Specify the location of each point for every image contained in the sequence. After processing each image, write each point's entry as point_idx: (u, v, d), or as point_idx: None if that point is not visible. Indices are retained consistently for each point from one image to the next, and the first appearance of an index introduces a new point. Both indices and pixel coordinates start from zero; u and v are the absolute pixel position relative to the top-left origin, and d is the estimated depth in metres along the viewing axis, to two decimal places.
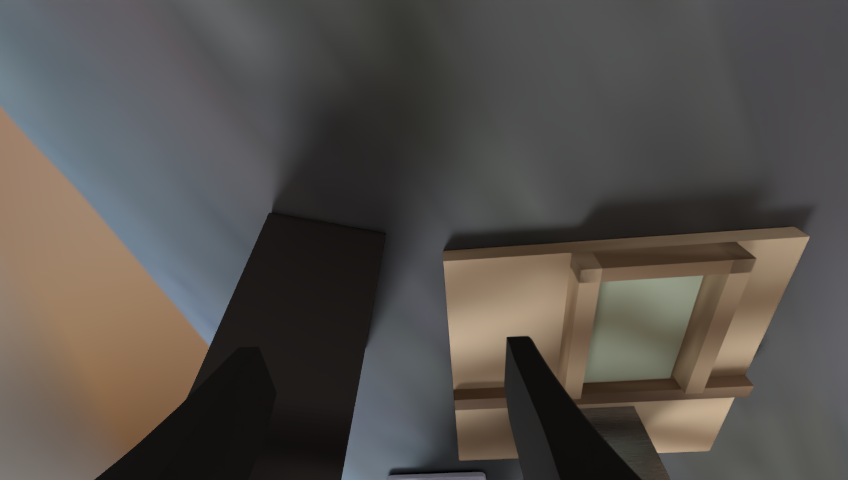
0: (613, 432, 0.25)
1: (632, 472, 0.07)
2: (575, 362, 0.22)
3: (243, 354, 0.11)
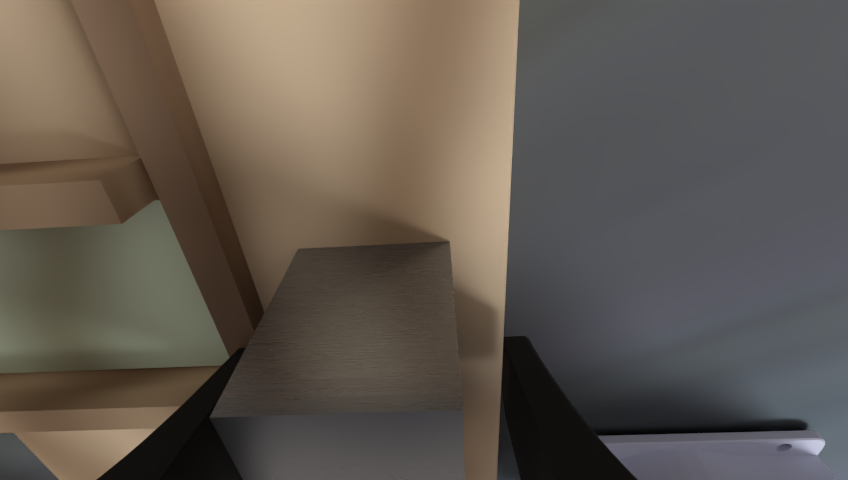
0: None
1: (627, 472, 0.07)
2: (119, 421, 0.12)
3: None
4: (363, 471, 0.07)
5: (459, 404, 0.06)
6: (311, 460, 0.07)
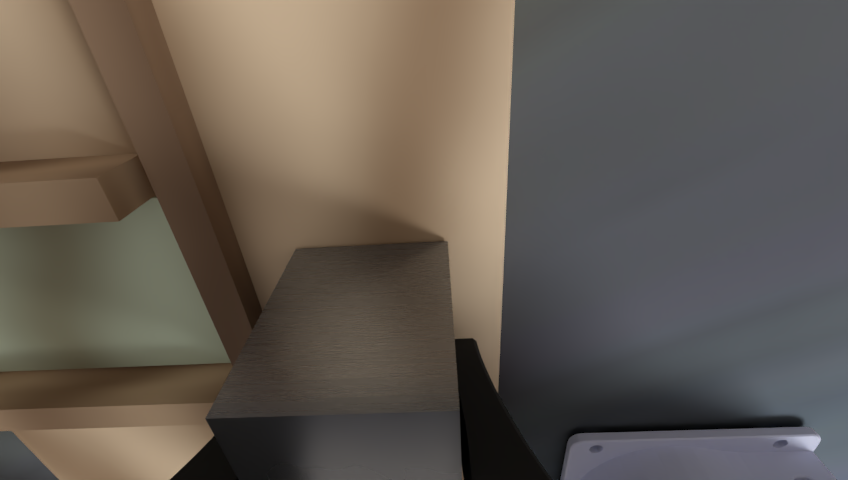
0: None
1: (544, 474, 0.07)
2: (118, 419, 0.12)
3: None
4: (360, 472, 0.07)
5: (456, 405, 0.06)
6: (308, 461, 0.07)
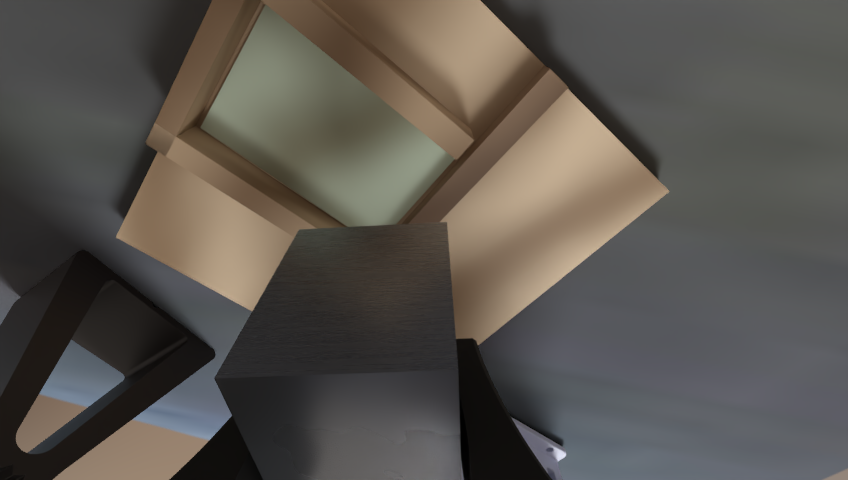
0: None
1: (544, 474, 0.07)
2: (296, 230, 0.17)
3: None
4: (363, 435, 0.07)
5: (455, 365, 0.07)
6: (312, 423, 0.07)
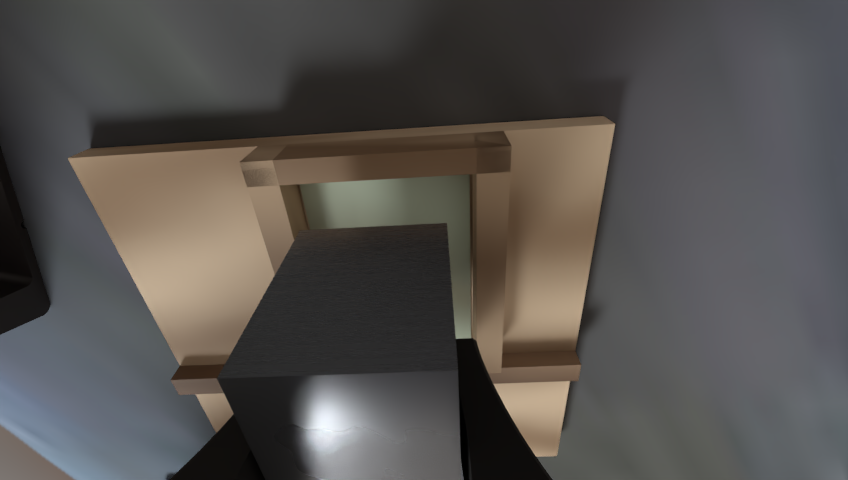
0: None
1: (544, 474, 0.07)
2: None
3: None
4: (364, 434, 0.07)
5: (454, 365, 0.07)
6: (313, 423, 0.07)
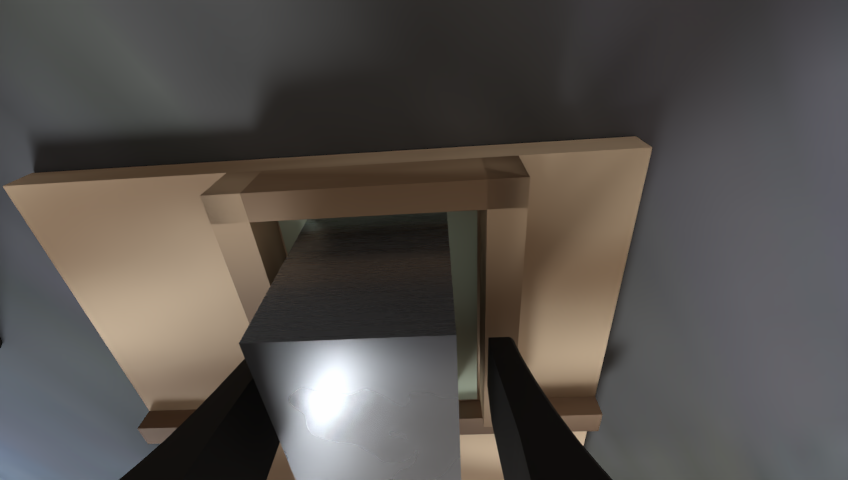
0: None
1: (603, 473, 0.07)
2: None
3: None
4: (371, 397, 0.08)
5: (453, 331, 0.07)
6: (324, 386, 0.08)
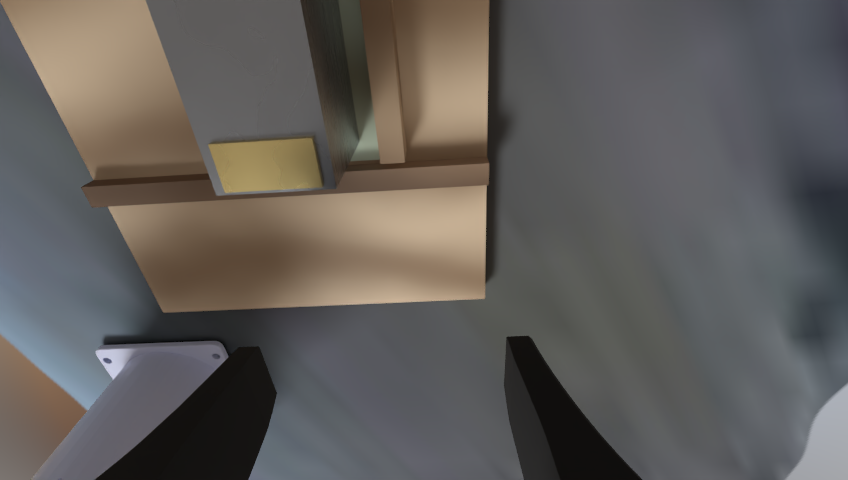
0: None
1: (632, 472, 0.07)
2: None
3: (242, 354, 0.11)
4: None
5: None
6: None
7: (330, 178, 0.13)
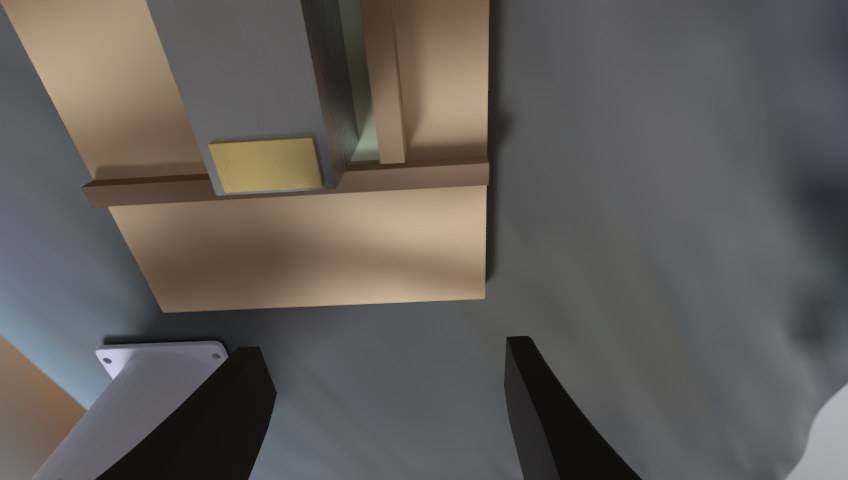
0: None
1: (632, 472, 0.07)
2: None
3: (242, 354, 0.11)
4: None
5: None
6: None
7: (330, 178, 0.13)
